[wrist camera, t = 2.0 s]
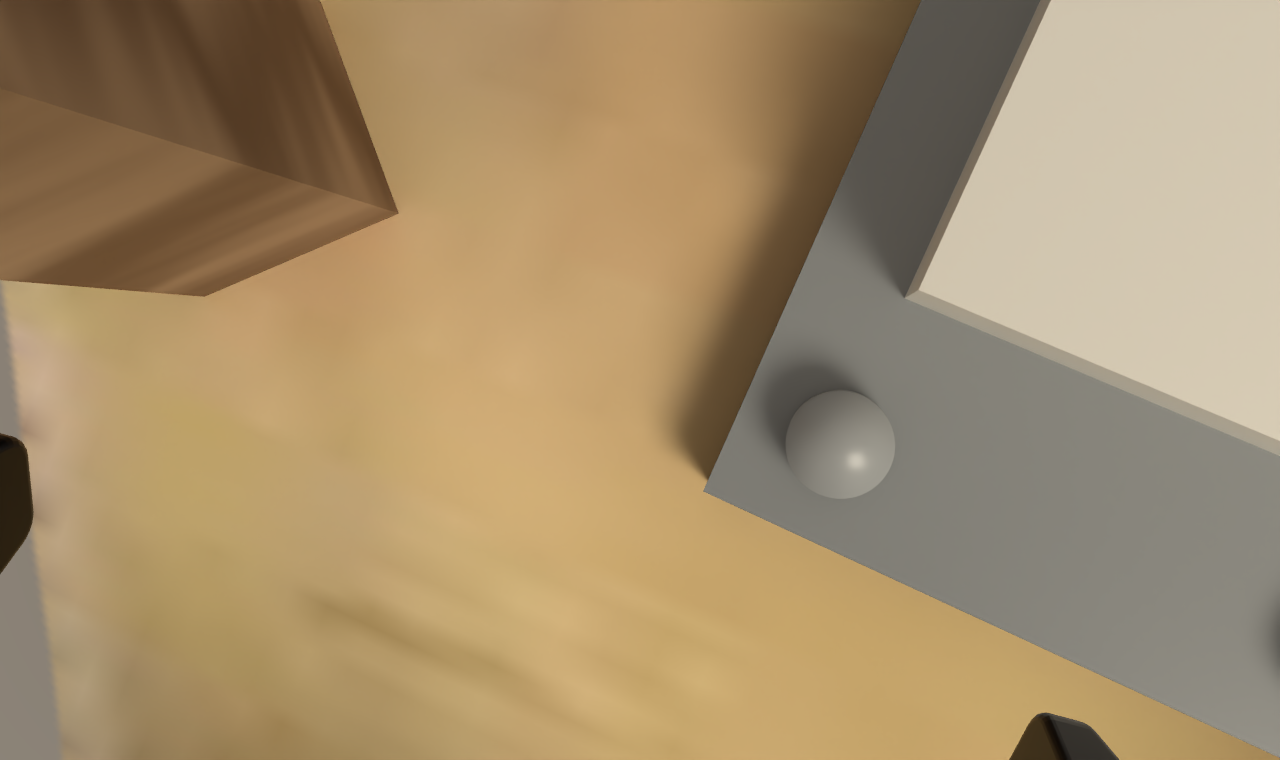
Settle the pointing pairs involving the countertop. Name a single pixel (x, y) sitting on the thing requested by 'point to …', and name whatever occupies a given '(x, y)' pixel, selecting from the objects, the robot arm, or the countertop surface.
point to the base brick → (1053, 343)
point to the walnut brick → (176, 142)
